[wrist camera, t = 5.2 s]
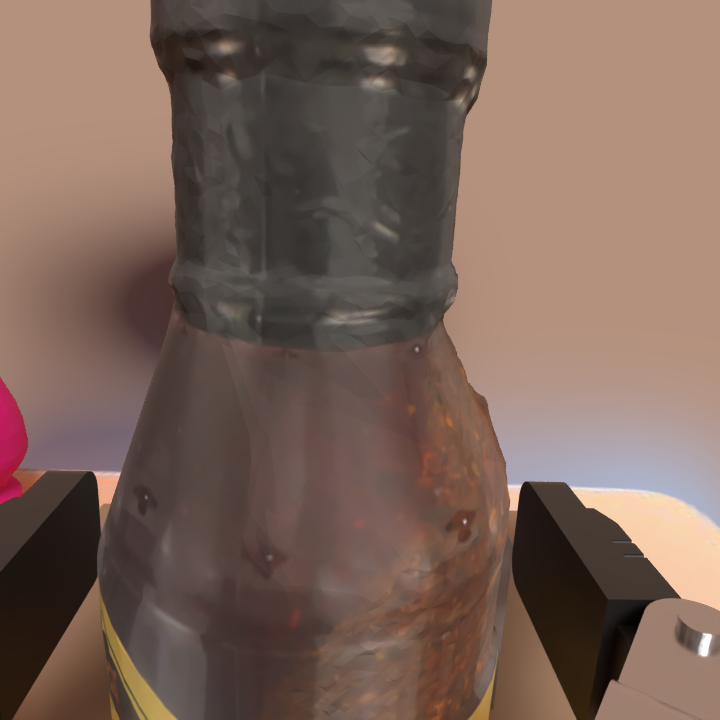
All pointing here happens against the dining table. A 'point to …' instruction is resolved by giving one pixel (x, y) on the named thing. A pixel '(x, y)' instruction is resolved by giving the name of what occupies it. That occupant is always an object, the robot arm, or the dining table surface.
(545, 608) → the robot arm
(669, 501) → the dining table surface
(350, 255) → the sauce bottle
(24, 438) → the pepper mill
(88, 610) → the bottle caddy
